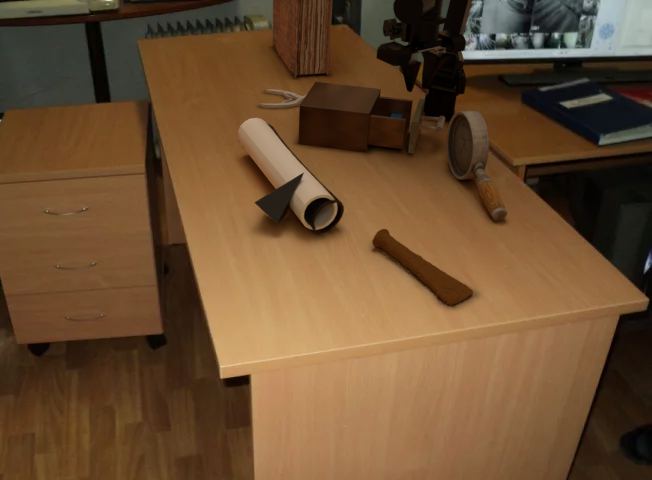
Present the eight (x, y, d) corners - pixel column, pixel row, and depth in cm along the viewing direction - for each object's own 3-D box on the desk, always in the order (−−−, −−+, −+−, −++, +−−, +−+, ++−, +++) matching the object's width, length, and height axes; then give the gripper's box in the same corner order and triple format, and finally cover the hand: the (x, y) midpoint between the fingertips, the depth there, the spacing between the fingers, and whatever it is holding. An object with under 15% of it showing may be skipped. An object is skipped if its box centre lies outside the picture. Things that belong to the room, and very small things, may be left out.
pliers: (266, 85, 178) (328, 89, 176) (266, 91, 179) (327, 95, 177) (260, 100, 170) (324, 105, 168) (260, 107, 171) (323, 111, 169)
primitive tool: (474, 294, 112) (478, 275, 110) (450, 308, 109) (454, 289, 107) (384, 241, 124) (386, 223, 122) (361, 252, 121) (362, 234, 119)
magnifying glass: (520, 188, 124) (472, 96, 139) (503, 190, 124) (457, 97, 139) (497, 239, 135) (455, 148, 150) (482, 240, 134) (441, 149, 149)
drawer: (443, 131, 159) (448, 101, 155) (437, 156, 149) (442, 125, 145) (360, 121, 163) (362, 91, 159) (349, 145, 153) (351, 114, 149)
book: (328, 76, 188) (335, -50, 171) (294, 78, 186) (297, -48, 169) (304, 44, 208) (307, -70, 191) (272, 47, 206) (273, -69, 189)
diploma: (255, 166, 154) (205, 137, 146) (281, 130, 151) (231, 98, 143) (322, 253, 127) (265, 223, 119) (355, 210, 124) (299, 177, 116)
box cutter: (390, 123, 159) (391, 111, 158) (401, 124, 159) (402, 112, 157) (384, 141, 152) (385, 129, 150) (395, 142, 151) (397, 130, 150)
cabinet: (377, 126, 163) (380, 88, 158) (366, 152, 152) (369, 113, 147) (313, 118, 166) (315, 81, 161) (298, 143, 155) (299, 105, 150)
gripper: (434, -6, 149) (424, 69, 158) (362, 7, 141) (356, 85, 150) (473, 7, 142) (460, 85, 151) (399, 22, 133) (391, 103, 143)
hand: (416, 89), depth 149 cm, fingers open, 4 cm apart
